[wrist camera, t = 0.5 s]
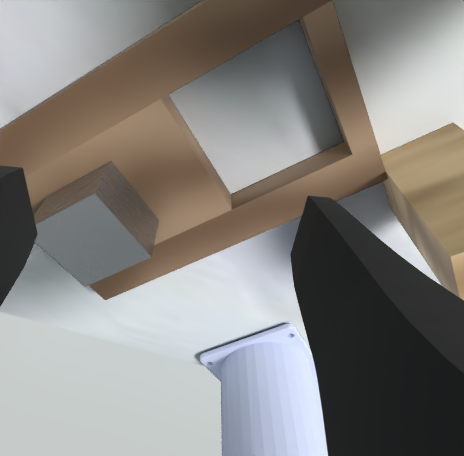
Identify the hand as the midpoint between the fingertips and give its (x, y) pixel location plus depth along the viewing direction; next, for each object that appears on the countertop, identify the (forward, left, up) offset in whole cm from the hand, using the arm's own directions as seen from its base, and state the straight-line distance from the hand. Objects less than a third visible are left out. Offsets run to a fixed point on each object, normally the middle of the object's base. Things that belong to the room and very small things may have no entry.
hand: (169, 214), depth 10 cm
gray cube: (-2, +7, -10) cm, 12 cm away
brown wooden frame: (-2, +2, -10) cm, 10 cm away
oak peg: (-9, -9, -10) cm, 16 cm away
